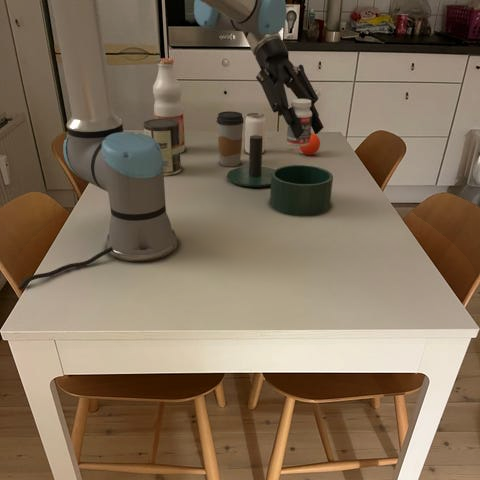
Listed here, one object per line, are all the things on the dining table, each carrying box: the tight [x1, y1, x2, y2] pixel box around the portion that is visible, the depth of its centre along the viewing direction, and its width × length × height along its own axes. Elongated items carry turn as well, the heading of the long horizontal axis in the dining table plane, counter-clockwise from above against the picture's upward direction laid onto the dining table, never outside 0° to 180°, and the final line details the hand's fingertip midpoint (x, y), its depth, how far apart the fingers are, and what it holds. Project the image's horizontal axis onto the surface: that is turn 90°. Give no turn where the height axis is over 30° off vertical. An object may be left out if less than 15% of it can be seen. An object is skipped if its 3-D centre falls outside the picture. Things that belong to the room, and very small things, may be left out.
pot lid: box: [226, 135, 276, 188], centre depth 148 cm, size 17×17×12 cm
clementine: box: [298, 132, 321, 156], centre depth 170 cm, size 8×7×7 cm
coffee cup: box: [216, 110, 245, 167], centre depth 159 cm, size 8×8×15 cm
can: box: [244, 112, 266, 155], centre depth 170 cm, size 6×6×12 cm
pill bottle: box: [286, 98, 312, 147], centre depth 123 cm, size 6×6×10 cm
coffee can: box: [142, 118, 182, 177], centre depth 153 cm, size 10×10×14 cm
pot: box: [269, 164, 334, 217], centre depth 134 cm, size 16×16×8 cm
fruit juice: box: [152, 57, 186, 154], centre depth 166 cm, size 9×9×28 cm
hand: (309, 132), depth 122 cm, fingers closed on pill bottle, 6 cm apart
